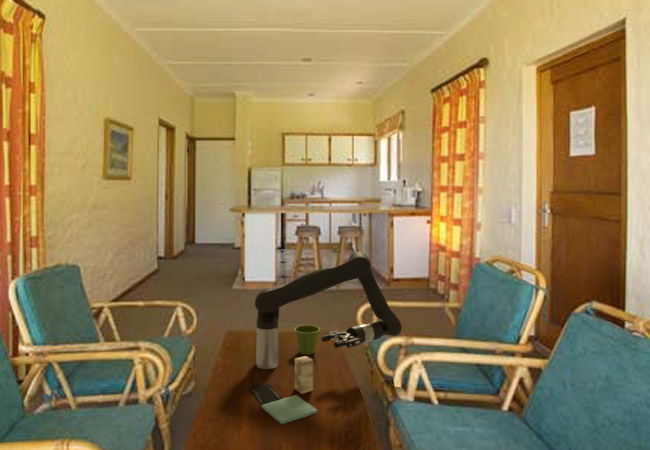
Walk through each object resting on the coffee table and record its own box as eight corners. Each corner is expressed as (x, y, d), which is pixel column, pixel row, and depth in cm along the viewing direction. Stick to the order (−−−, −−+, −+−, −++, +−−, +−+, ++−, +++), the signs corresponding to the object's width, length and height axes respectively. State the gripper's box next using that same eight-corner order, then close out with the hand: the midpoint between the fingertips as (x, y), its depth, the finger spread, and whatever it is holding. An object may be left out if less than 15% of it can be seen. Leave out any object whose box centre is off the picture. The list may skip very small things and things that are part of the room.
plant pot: (289, 353, 218) (289, 329, 217) (303, 346, 228) (303, 323, 227) (310, 358, 212) (310, 334, 211) (324, 351, 222) (324, 327, 221)
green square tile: (261, 407, 165) (261, 404, 165) (295, 397, 173) (295, 394, 173) (281, 424, 154) (281, 421, 154) (317, 412, 162) (317, 410, 162)
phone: (267, 382, 184) (282, 398, 171) (267, 385, 184) (282, 401, 171) (248, 386, 181) (261, 402, 167) (248, 389, 181) (261, 405, 168)
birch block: (294, 388, 181) (294, 358, 179) (305, 385, 183) (305, 355, 182) (301, 393, 176) (301, 362, 175) (312, 390, 179) (313, 359, 178)
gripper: (349, 321, 200) (318, 328, 190) (371, 329, 188) (339, 337, 179) (349, 338, 200) (318, 346, 191) (371, 348, 189) (339, 356, 179)
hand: (328, 342), depth 185 cm, fingers open, 8 cm apart
